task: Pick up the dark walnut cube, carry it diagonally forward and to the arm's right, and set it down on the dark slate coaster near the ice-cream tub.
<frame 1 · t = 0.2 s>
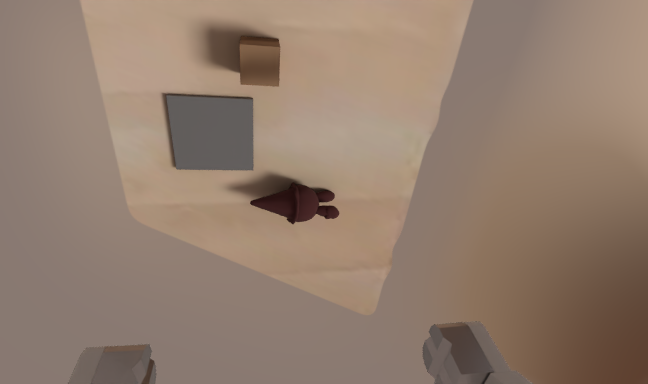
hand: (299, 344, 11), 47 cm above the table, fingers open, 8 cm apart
coaster: (213, 134, 56), on the table
icecream: (294, 192, 65), on the table
cube: (259, 56, 51), on the table
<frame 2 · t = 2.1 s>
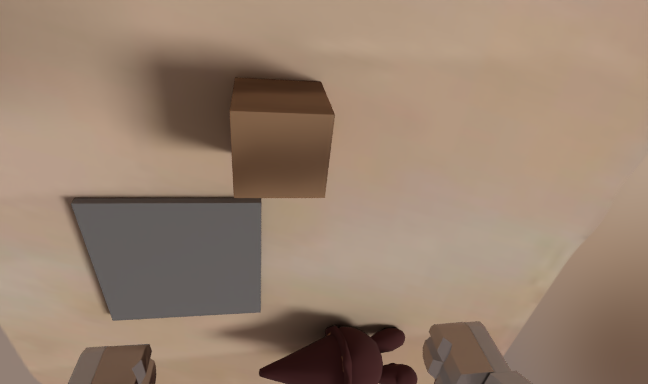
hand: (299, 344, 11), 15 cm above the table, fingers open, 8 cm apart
coaster: (182, 260, 28), on the table
icecream: (334, 331, 37), on the table
cube: (277, 118, 23), on the table
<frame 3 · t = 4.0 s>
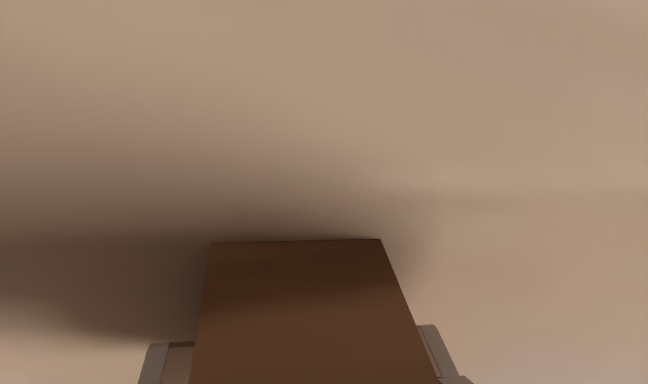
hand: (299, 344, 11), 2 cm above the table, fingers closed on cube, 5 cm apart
cube: (294, 297, 12), on the table, touching gripper
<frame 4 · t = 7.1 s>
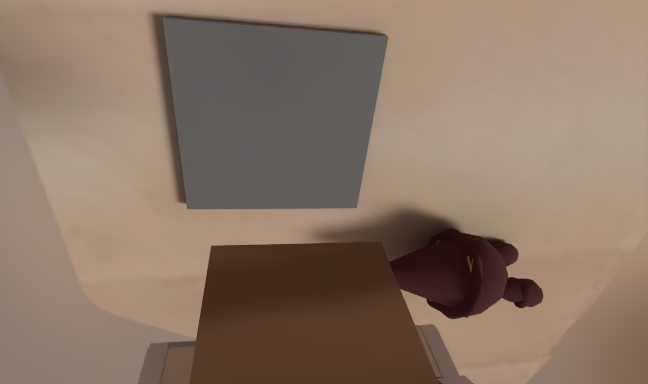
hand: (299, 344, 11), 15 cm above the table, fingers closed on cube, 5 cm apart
coaster: (277, 127, 23), on the table
icecream: (437, 244, 32), on the table
cube: (294, 300, 12), point 14 cm above the table, touching gripper
when the fingers open (3 cm above the table, at t = 10.0 s): cube stays where it is, resting on coaster.
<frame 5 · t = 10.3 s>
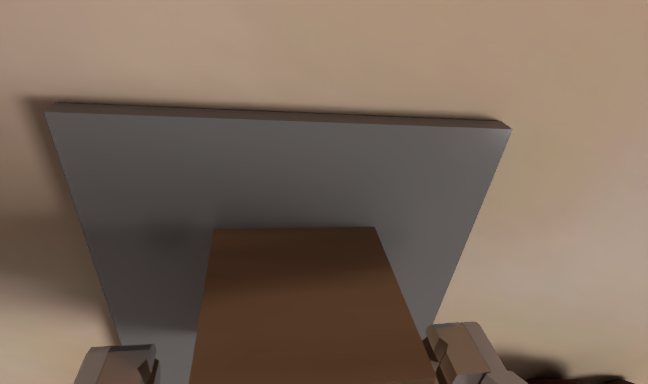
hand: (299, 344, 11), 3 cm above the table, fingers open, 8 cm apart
coaster: (291, 271, 13), on the table
cube: (292, 284, 13), point 1 cm above the table, touching coaster
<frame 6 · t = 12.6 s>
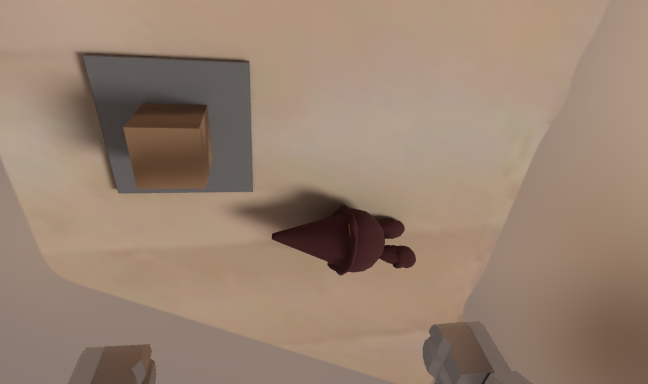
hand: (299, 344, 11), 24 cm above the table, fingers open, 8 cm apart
coaster: (180, 130, 31), on the table
icecream: (339, 219, 40), on the table
cube: (179, 132, 31), point 1 cm above the table, touching coaster
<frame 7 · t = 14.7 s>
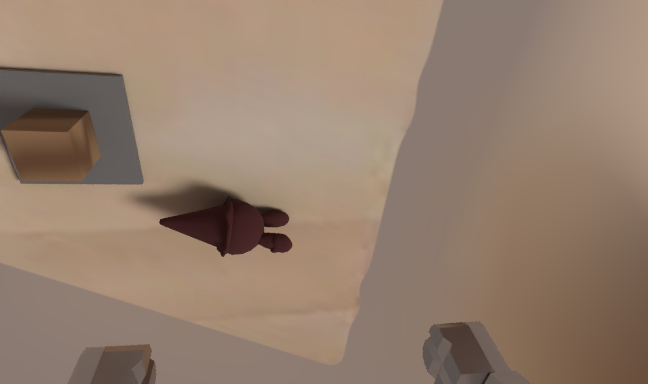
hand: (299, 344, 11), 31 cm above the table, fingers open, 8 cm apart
coaster: (70, 130, 37), on the table
icecream: (231, 209, 45), on the table
cube: (67, 133, 36), point 1 cm above the table, touching coaster
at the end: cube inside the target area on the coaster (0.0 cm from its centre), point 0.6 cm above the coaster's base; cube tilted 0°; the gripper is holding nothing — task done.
